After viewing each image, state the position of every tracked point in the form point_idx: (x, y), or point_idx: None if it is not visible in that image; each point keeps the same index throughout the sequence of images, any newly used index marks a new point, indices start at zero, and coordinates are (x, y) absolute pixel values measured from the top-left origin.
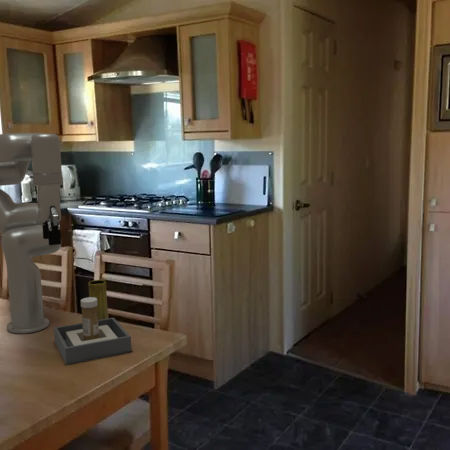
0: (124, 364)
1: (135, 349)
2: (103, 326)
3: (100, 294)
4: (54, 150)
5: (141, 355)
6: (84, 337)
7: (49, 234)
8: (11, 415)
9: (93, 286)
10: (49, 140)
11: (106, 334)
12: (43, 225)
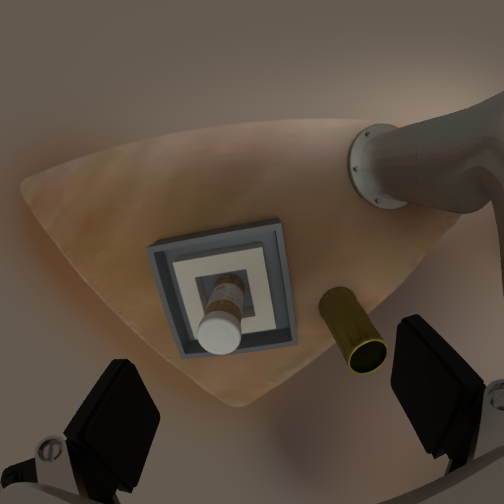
0: (144, 325)
1: None
2: (268, 321)
3: (340, 348)
4: None
5: (172, 352)
6: (220, 283)
7: (84, 416)
8: (43, 178)
9: (351, 347)
10: None
11: None
12: (465, 395)
